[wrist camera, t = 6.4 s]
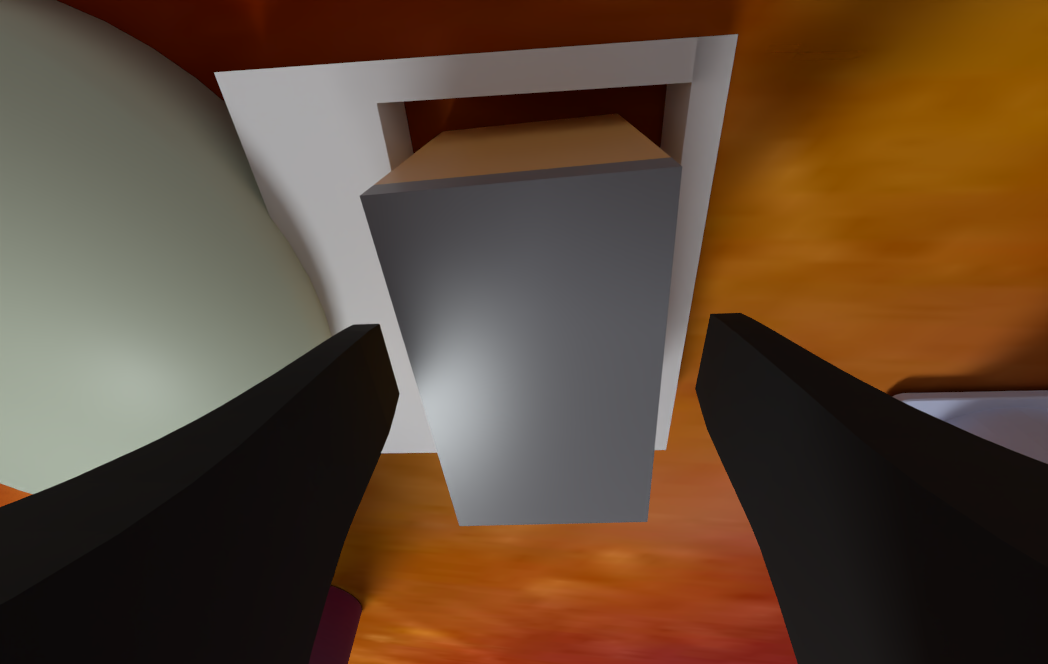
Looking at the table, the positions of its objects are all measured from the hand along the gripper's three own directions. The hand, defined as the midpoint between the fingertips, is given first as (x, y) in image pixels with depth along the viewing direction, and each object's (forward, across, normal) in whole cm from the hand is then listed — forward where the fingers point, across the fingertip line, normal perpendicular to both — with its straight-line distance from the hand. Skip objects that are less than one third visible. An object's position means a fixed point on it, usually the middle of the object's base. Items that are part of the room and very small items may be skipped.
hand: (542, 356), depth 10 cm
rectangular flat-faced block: (+4, 0, 0) cm, 4 cm away
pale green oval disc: (+4, +9, 0) cm, 10 cm away
